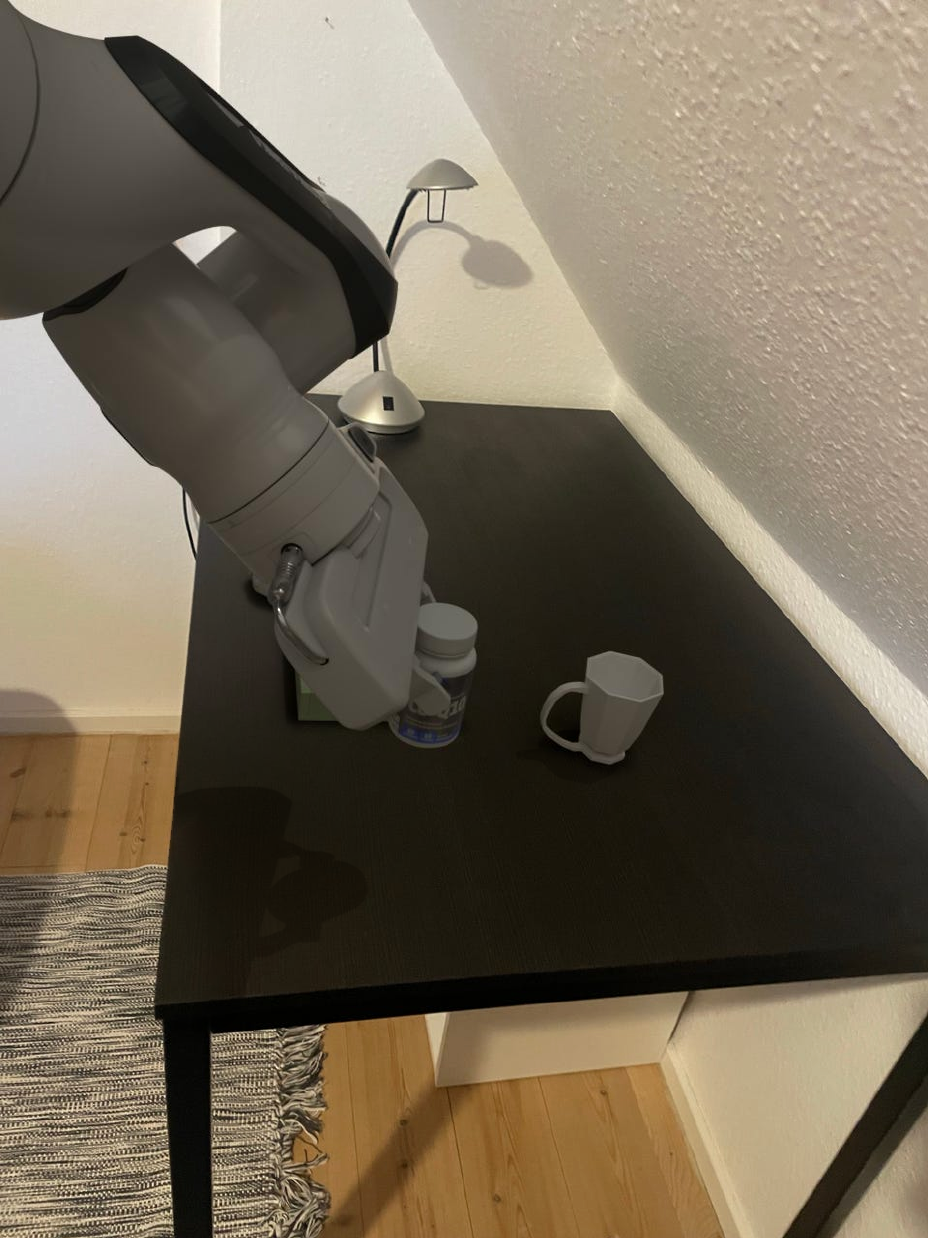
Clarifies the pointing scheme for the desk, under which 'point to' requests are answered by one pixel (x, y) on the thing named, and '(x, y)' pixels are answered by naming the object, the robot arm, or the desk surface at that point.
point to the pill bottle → (453, 655)
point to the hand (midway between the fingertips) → (444, 673)
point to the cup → (610, 705)
